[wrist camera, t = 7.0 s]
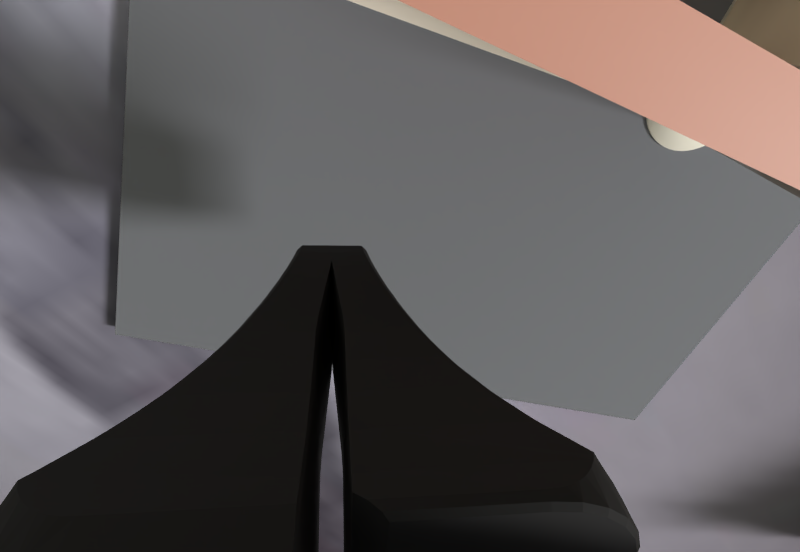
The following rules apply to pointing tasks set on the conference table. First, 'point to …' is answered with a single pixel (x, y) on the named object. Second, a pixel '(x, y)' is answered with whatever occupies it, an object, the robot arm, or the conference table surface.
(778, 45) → the fence base
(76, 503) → the robot arm
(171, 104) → the card
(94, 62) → the conference table surface
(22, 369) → the conference table surface
